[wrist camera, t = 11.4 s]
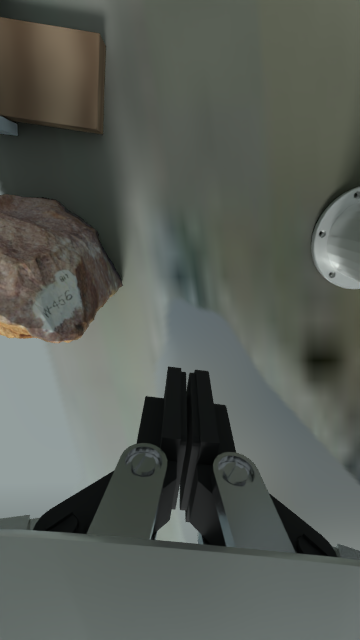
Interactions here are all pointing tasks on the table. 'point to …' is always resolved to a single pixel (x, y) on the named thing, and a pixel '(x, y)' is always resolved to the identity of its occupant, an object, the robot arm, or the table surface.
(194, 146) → the table surface
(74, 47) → the panel
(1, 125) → the bridge
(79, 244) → the stone
